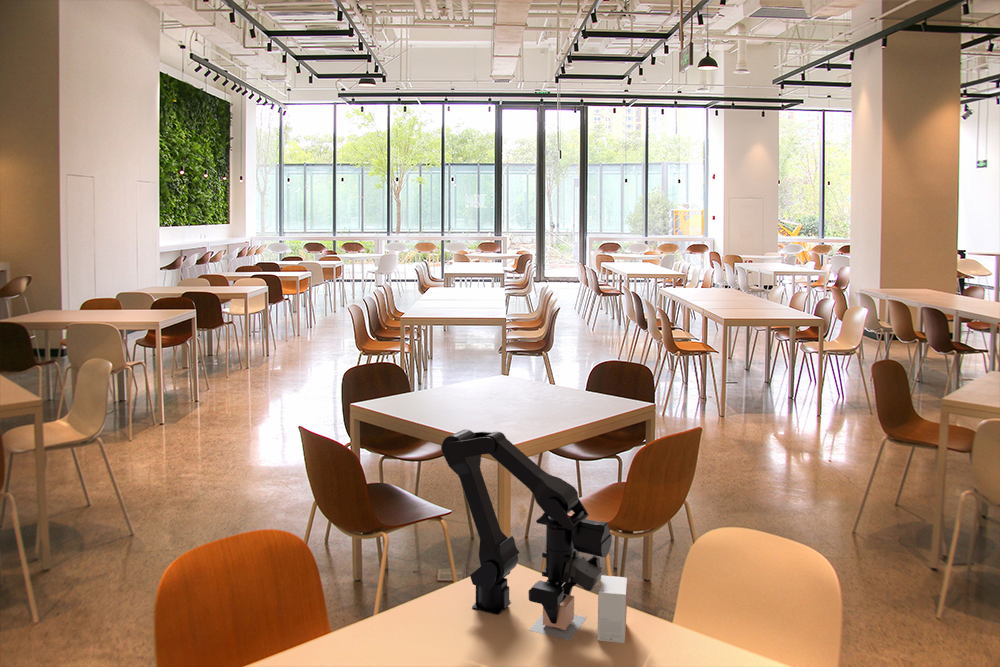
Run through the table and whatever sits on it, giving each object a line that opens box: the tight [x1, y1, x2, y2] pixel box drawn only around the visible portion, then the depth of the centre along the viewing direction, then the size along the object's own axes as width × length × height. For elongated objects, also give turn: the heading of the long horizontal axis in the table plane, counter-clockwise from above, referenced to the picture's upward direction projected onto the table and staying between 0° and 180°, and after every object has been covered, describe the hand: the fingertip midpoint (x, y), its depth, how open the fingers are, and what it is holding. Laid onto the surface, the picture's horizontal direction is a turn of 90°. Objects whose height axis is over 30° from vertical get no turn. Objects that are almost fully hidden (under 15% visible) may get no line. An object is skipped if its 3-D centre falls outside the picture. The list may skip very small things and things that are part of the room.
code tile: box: [529, 613, 587, 642], centre depth 161 cm, size 9×10×1 cm
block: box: [542, 594, 575, 630], centre depth 160 cm, size 5×5×5 cm
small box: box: [596, 574, 629, 644], centre depth 157 cm, size 8×6×10 cm
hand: (558, 617), depth 160 cm, fingers closed on block, 5 cm apart
